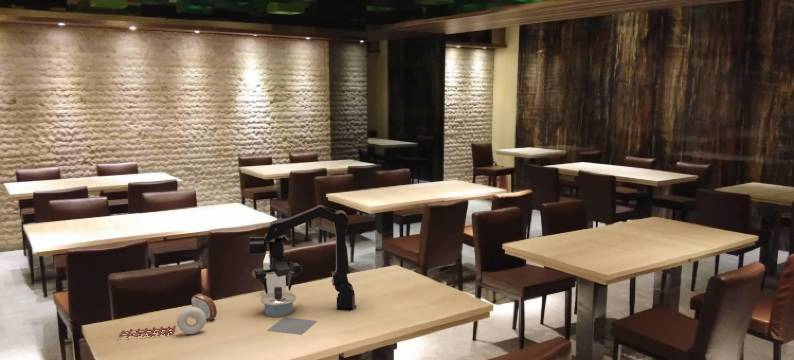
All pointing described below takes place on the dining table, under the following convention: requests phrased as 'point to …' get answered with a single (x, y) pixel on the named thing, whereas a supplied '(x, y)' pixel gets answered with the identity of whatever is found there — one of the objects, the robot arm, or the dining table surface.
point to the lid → (278, 297)
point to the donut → (188, 313)
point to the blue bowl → (278, 310)
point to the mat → (292, 325)
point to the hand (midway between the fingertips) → (278, 291)
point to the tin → (204, 305)
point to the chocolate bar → (149, 332)
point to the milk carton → (273, 277)
